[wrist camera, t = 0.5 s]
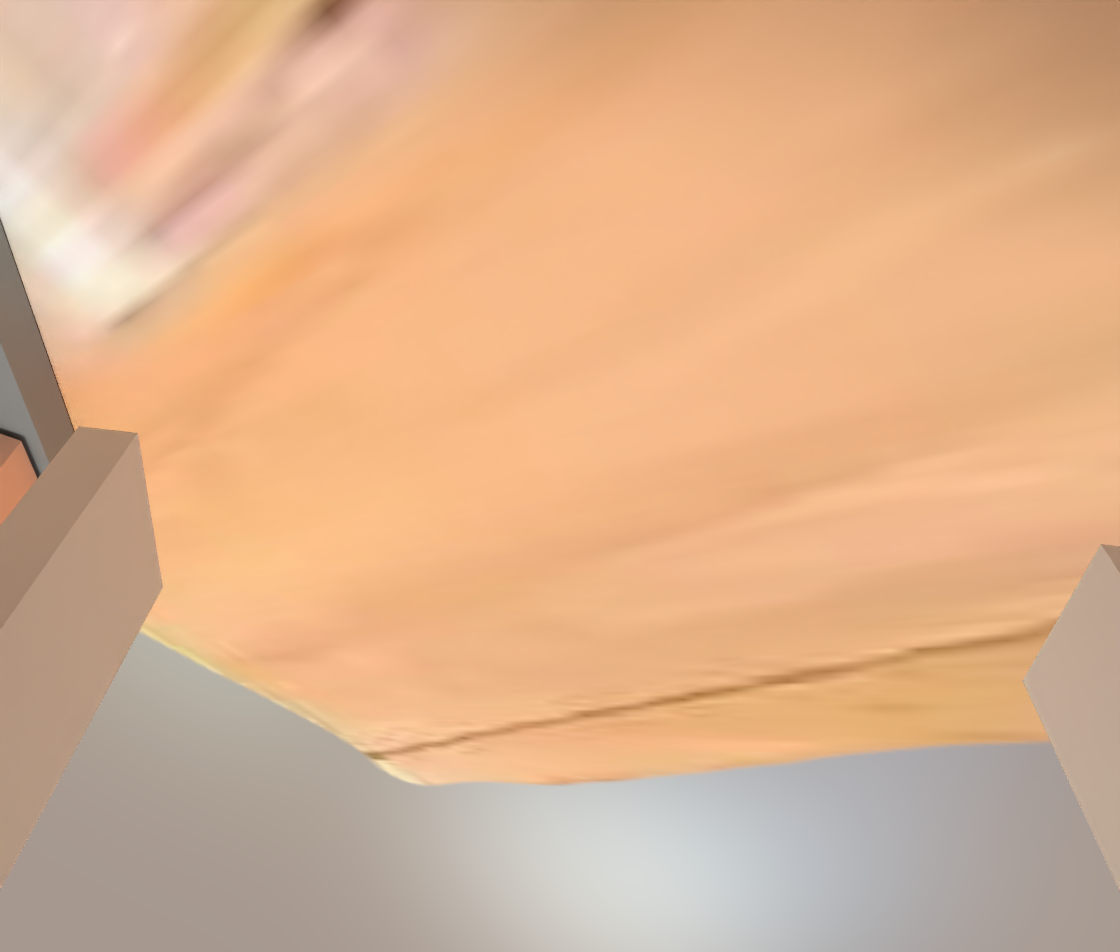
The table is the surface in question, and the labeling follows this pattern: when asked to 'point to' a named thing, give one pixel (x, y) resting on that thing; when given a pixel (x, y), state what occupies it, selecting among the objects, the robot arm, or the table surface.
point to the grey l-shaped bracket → (27, 374)
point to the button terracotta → (13, 474)
